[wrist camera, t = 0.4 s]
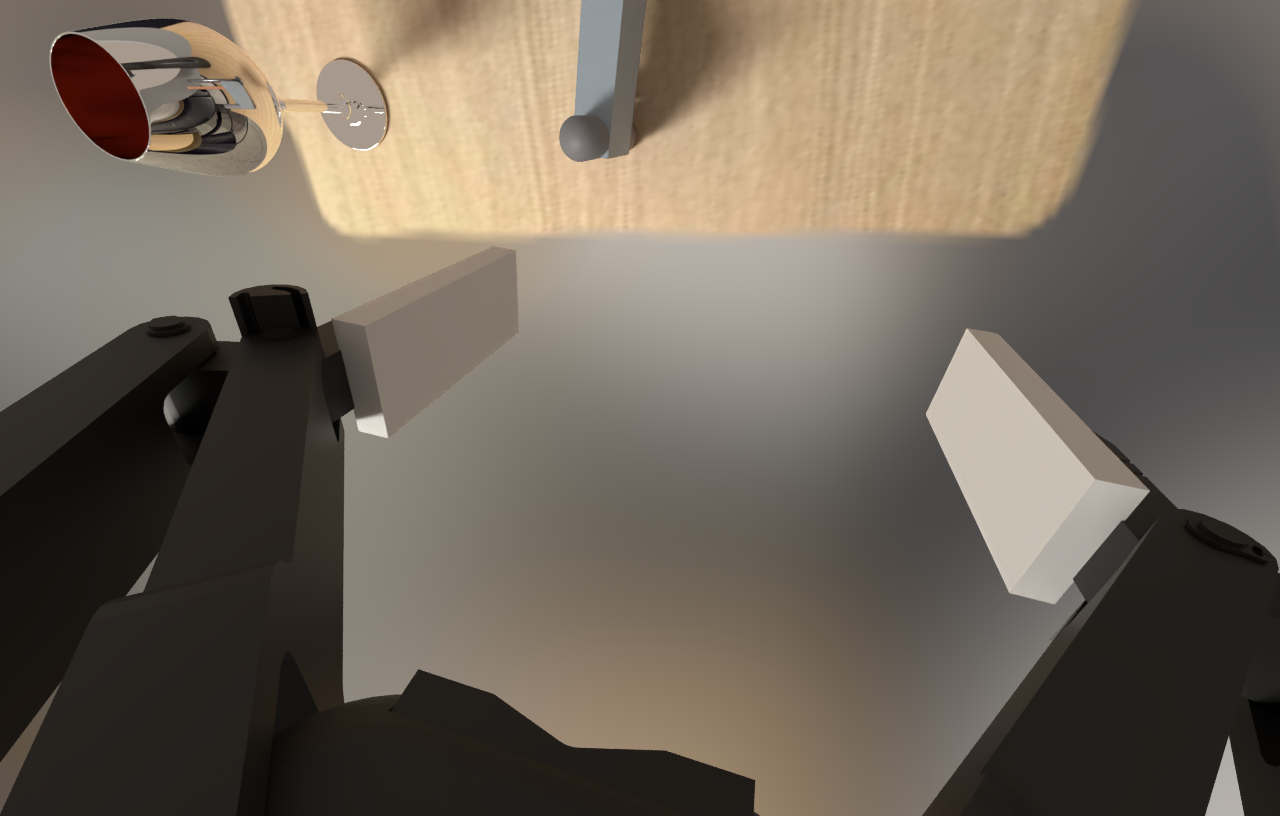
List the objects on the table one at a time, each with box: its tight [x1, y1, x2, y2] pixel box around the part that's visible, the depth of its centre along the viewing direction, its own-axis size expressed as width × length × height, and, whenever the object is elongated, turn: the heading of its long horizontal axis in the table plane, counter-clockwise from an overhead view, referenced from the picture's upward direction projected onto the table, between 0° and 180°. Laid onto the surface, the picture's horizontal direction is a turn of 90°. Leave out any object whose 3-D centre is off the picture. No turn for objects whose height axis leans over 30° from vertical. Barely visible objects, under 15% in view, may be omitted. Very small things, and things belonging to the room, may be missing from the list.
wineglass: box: [49, 18, 388, 177], centre depth 33 cm, size 8×8×18 cm
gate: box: [559, 0, 646, 162], centre depth 30 cm, size 15×2×9 cm, turn 172°
